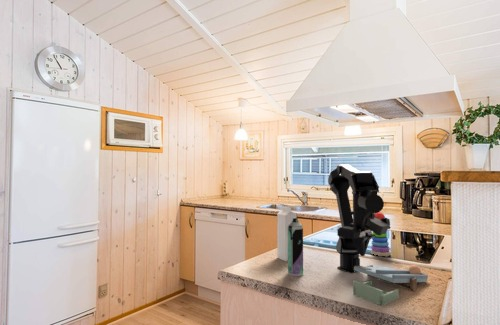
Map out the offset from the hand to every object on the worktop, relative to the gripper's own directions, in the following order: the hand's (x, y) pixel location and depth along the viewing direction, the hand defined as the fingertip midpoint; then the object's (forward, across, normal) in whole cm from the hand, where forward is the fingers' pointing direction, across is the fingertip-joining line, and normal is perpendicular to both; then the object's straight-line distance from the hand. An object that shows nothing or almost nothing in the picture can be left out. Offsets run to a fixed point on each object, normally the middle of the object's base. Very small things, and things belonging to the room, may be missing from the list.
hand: (362, 255), depth 100 cm
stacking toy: (+9, +35, +16) cm, 40 cm away
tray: (+9, -6, -9) cm, 14 cm away
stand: (+9, +8, -5) cm, 13 cm away
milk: (+9, -3, +35) cm, 36 cm away
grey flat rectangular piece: (+6, +8, -5) cm, 11 cm away
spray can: (+9, -13, +19) cm, 24 cm away
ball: (+5, +16, -9) cm, 19 cm away
